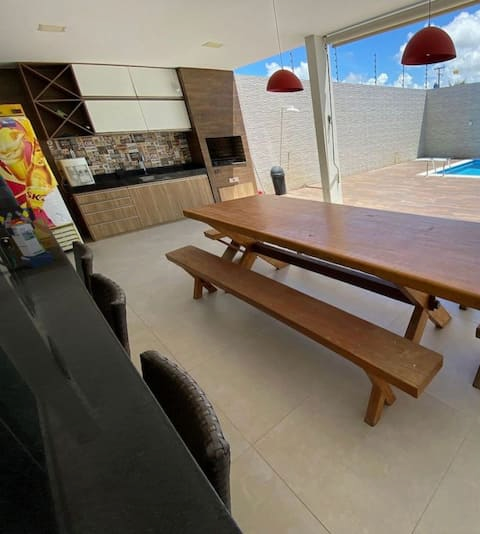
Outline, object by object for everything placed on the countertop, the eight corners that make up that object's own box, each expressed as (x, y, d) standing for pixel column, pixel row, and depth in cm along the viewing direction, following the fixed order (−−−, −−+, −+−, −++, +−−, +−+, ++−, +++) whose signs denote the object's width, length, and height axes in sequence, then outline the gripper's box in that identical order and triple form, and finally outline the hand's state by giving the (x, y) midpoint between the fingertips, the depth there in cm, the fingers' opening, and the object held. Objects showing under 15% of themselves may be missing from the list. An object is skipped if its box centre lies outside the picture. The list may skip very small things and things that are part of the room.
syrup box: (33, 256, 143) (16, 226, 137) (23, 256, 144) (6, 227, 138) (46, 251, 149) (30, 223, 142) (36, 251, 150) (20, 223, 143)
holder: (34, 268, 144) (28, 258, 142) (26, 266, 147) (20, 256, 145) (55, 261, 151) (50, 252, 148) (46, 259, 154) (41, 250, 151)
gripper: (19, 193, 142) (38, 227, 149) (-25, 200, 130) (-2, 237, 137) (27, 193, 139) (46, 228, 146) (-18, 201, 127) (5, 239, 135)
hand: (22, 232), depth 142 cm, fingers closed on syrup box, 6 cm apart
